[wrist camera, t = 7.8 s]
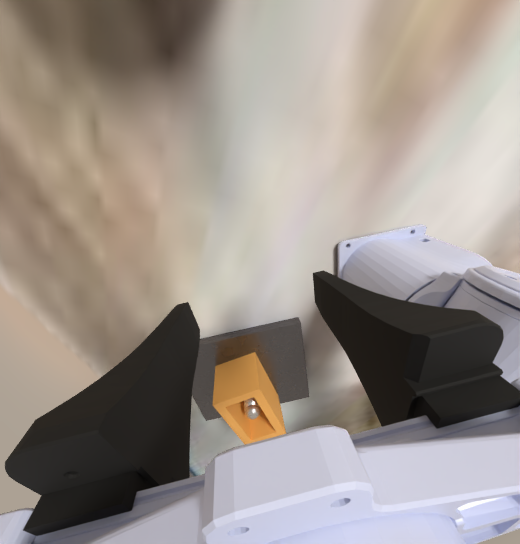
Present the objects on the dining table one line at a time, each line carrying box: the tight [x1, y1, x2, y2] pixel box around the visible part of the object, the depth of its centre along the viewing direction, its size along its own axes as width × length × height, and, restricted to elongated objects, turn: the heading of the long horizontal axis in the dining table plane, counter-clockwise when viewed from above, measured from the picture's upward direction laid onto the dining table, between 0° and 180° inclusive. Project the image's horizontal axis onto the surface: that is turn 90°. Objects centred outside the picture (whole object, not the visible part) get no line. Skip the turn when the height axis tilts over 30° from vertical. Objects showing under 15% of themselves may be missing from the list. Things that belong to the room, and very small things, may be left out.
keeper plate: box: [192, 317, 309, 421], centre depth 28 cm, size 16×15×6 cm
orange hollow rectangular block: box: [213, 352, 286, 445], centre depth 27 cm, size 5×10×5 cm, turn 20°
